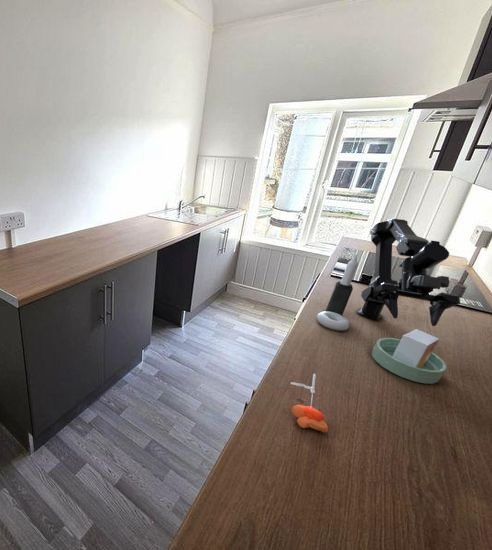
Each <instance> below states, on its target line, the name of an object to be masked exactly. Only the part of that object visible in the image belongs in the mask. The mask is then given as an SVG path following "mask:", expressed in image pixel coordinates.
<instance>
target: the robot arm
mask: <svg viewBox="0 0 492 550" xmlns="http://www.w3.org/2000/svg"><path fill="white" fill-rule="evenodd" d="M369 234H370V241H371V242H372V243H373V245H374V246H375V258H374V278H373V280H372V281H371V282H370V283H369V284H368V286H367V287H366V288H364V289H363V290H362V291H361V295H360V297H361V298H362V300H363V301H364V303H363V305H362V308H360V309H359V310H358V311H357V314H358V315H361V316H362V317H363V316H364V317H366V318H368V319H372V320H374V321H379V320H380V319H381V318H382V316H383V314H381V313H382V311H383V309H384V307H385V306H386V308H387V309H388V311H389V312H390V314H391V316H392V317H393V319H397V318H398V316H399V307H398V299H399V297H404V298H410V299H416V300H421V301H422V300H423V301H426V302H429V305H430V306H429V307H428V309H429V319H430V324H431V326H432V327H436V326H437V325H438V323H439V322H440V319H441V317H442V316H443V313H444V312H445V310H446V309H447V310H448V309H451V308H453V307H455V306H458V305H460V304H461V297H460V296H459V295H458V294H454V293H449V292H444V291H443V292H439V293H438V294H430V293H432V292H434V290H441V288H442V289H446V288H448V287H449V285H450V277H449V276H447V275H446V276H445V275H437V276H431V275H428V270H429V269H432V268H434V267H436V266H437V265H439V264H440V263H442V262H444V261H445V260H447V259H448V258H449V256H450V251H449V250H448V249H447V248H446V247H445V246H444V245H442V244H441V242H440V240H439V241H438V240H428V239H426V238H424V237H421V236H418V235H417V233H415V232H414V230H413V229H412V227H410V225H409V224H408V220H406V219H401V218H400V219H399V218H389V219H388V220H384V221H380V222H376V224H374V225H373V226H372V227H371V228H370V231H369ZM396 241H397V245H396V247H395V249H396V253H397V255H398V256H403V257H406V258H404V259H403V260H401V262H400V263H399V265H398V267H400V268H401V278H400V279H399V281H398V280H393V279H392V265H393V264H392V263H393V244H394V243H395V242H396ZM398 282H399V283H400V284H401V288H399V283H398Z"/></svg>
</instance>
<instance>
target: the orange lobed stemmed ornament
mask: <svg viewBox="0 0 492 550" xmlns="http://www.w3.org/2000/svg"><path fill="white" fill-rule="evenodd" d="M316 378H317V375H316V373H313V374H312V383H311V386H309V385H306V384H304V383H298V382H294V381H291V382H290V385H293V386H296V387H303V388H305V389H307V390H310V393H311V399H310V405H303V404H296V405H293V406H292V407H291V411H292V412H291V413H292V415H293V416H294V418H296V423H297V424H298V427H300V428H302V429H307V428H310V429H313V430H315V431H319V432H321V433H327V432H328V431H329V428H328V425H327V423H326V422H325V421H324V420H325V416H324V415H323V413H322V412H321V411H320V410H318V409H316V408H315V407H314V406H313V397H314V394H315V393H316V388H315V386H316Z"/></svg>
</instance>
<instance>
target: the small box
mask: <svg viewBox="0 0 492 550" xmlns="http://www.w3.org/2000/svg"><path fill="white" fill-rule="evenodd" d="M400 340H401V341H400V343H399V345H398V347H397V348H396V350H395V352H394V354H393V356H392V357H394V358H395V359H397V360H399V361H401V362H404V363H406V364H408V365H411V366H414V367H417V368H421V369H422V368H423V367H424V365H425V363H426V362H427V360H428V358H429V356H430V355H431V353H433V351H434V350H435V348H436V346H437V345H438V343H439V341H440V338H438V337H436V336H434V335H431V334H429V333H427V332H424V331H421V330H419V329H417V328H415V329H413V330H411V331H409V332H407V333H405V334H403V335H402V337H401V339H400Z"/></svg>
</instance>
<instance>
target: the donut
mask: <svg viewBox="0 0 492 550" xmlns="http://www.w3.org/2000/svg"><path fill="white" fill-rule="evenodd" d="M316 319H317V322H318V323H319V324H320V325H321V326H323V327H325V328H327V329H330V330H333V331H339V332H340V331H341V332H343V331H346V330H348V329H349V328H350V321H349V319H347V317H345V316H344V315H340V314H337V313H334V312H327V311H326V310H325V311H321V312H319V313H318V314H317V316H316Z"/></svg>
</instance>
